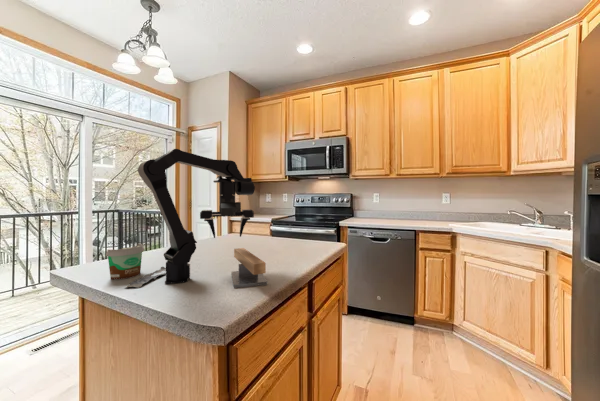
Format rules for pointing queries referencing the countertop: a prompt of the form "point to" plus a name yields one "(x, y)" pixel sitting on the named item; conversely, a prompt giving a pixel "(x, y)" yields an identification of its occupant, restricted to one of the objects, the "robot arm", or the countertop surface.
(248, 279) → the ridge stand
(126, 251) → the food container
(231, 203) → the robot arm
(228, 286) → the countertop surface
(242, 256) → the oak rod
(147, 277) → the driftwood
